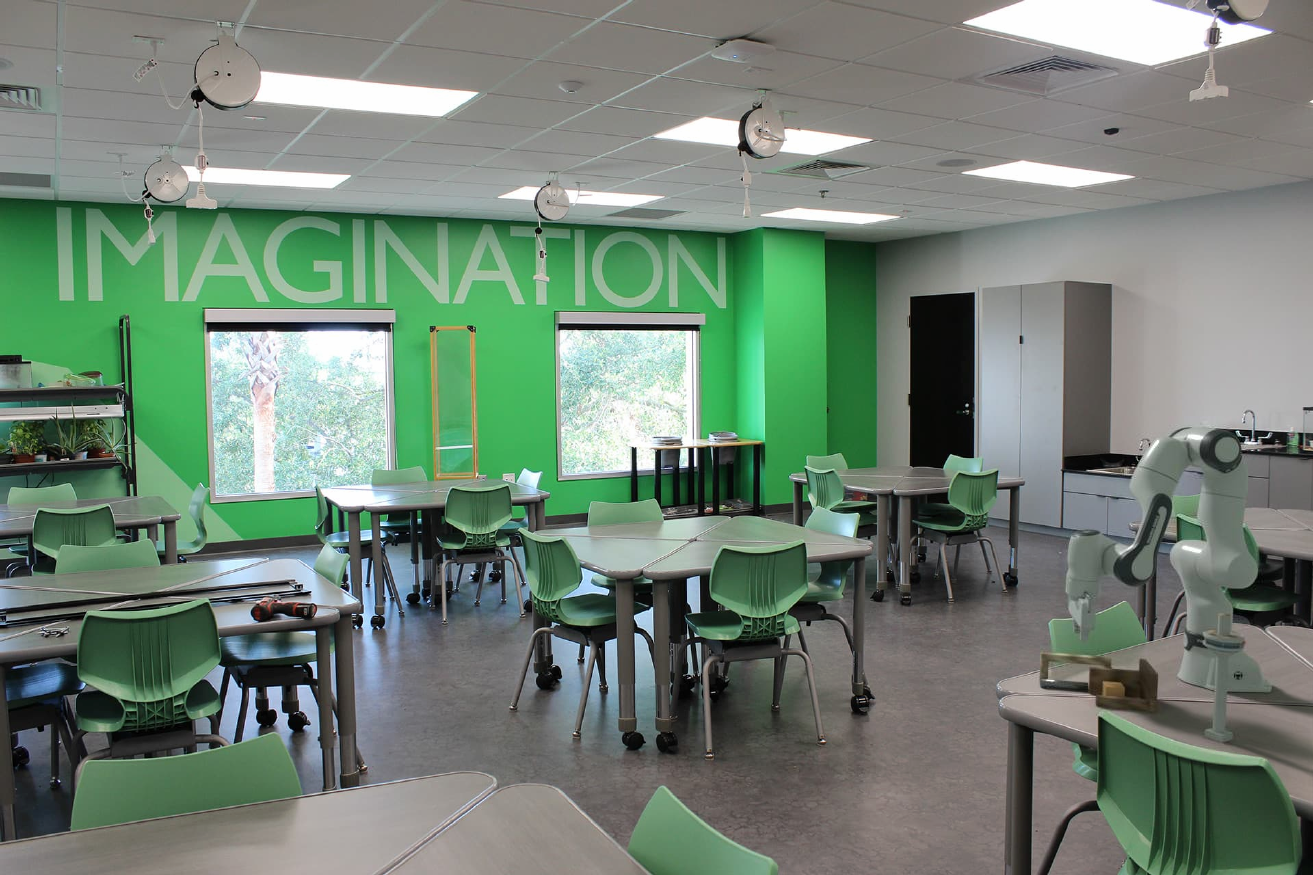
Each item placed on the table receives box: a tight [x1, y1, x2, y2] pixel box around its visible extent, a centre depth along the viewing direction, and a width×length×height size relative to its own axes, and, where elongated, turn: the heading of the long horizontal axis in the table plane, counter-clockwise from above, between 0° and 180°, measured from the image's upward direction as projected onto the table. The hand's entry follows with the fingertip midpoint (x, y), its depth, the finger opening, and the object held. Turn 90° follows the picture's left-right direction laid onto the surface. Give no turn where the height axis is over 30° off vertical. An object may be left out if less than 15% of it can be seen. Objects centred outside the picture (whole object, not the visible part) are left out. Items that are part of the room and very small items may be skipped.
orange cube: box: [1102, 681, 1125, 697], centre depth 250 cm, size 4×4×4 cm
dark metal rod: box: [1039, 678, 1089, 692], centre depth 260 cm, size 12×2×2 cm, turn 76°
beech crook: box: [1039, 651, 1114, 682], centre depth 264 cm, size 18×6×8 cm, turn 76°
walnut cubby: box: [1088, 658, 1159, 714], centre depth 250 cm, size 14×13×10 cm
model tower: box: [1203, 613, 1245, 744], centre depth 224 cm, size 8×8×30 cm
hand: (1080, 637), depth 263 cm, fingers open, 8 cm apart
